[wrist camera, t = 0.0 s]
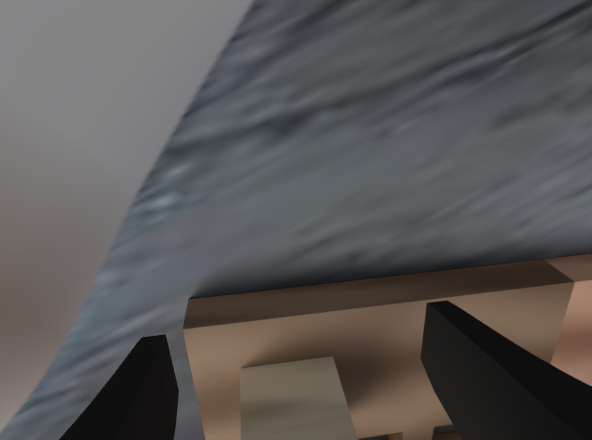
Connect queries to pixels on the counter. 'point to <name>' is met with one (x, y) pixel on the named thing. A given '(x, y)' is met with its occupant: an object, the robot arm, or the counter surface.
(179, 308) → the counter surface
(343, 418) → the maple block
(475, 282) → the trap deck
